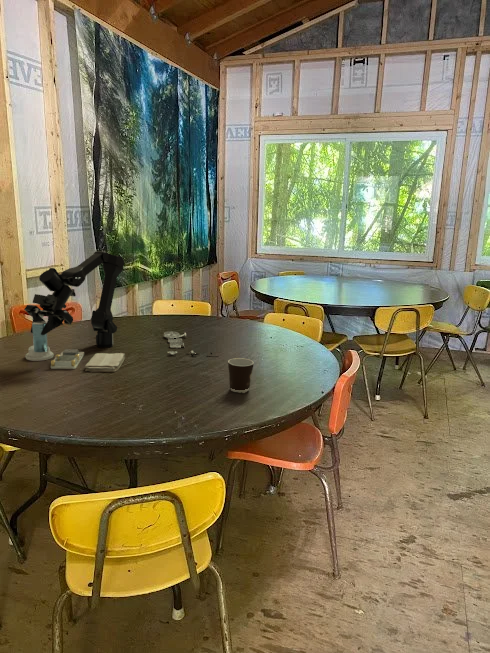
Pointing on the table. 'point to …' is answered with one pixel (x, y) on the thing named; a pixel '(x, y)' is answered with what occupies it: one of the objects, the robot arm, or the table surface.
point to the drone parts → (174, 340)
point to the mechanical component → (38, 354)
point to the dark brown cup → (240, 373)
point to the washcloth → (105, 362)
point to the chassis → (67, 359)
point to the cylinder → (39, 337)
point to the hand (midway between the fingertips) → (36, 333)
